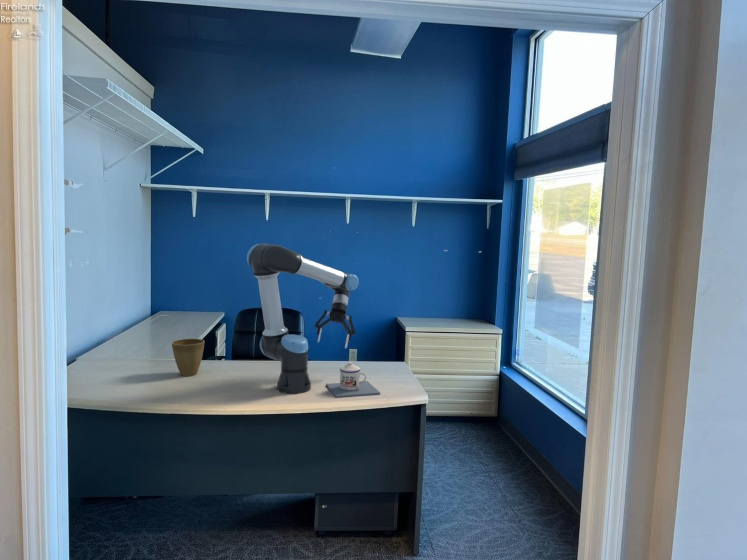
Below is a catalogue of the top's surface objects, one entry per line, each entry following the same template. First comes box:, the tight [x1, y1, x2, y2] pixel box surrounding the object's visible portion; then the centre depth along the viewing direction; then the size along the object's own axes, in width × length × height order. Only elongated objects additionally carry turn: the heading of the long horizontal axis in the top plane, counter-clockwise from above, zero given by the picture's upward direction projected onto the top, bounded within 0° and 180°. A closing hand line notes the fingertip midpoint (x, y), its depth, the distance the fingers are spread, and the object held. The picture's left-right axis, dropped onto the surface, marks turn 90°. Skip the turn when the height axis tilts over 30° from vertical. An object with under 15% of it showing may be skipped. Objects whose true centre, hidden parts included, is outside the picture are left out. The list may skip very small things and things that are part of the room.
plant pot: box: [171, 338, 205, 377], centre depth 253 cm, size 15×15×16 cm
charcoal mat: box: [325, 380, 381, 399], centre depth 237 cm, size 20×18×1 cm
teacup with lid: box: [339, 361, 367, 391], centre depth 236 cm, size 12×9×12 cm
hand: (332, 344), depth 254 cm, fingers open, 13 cm apart
